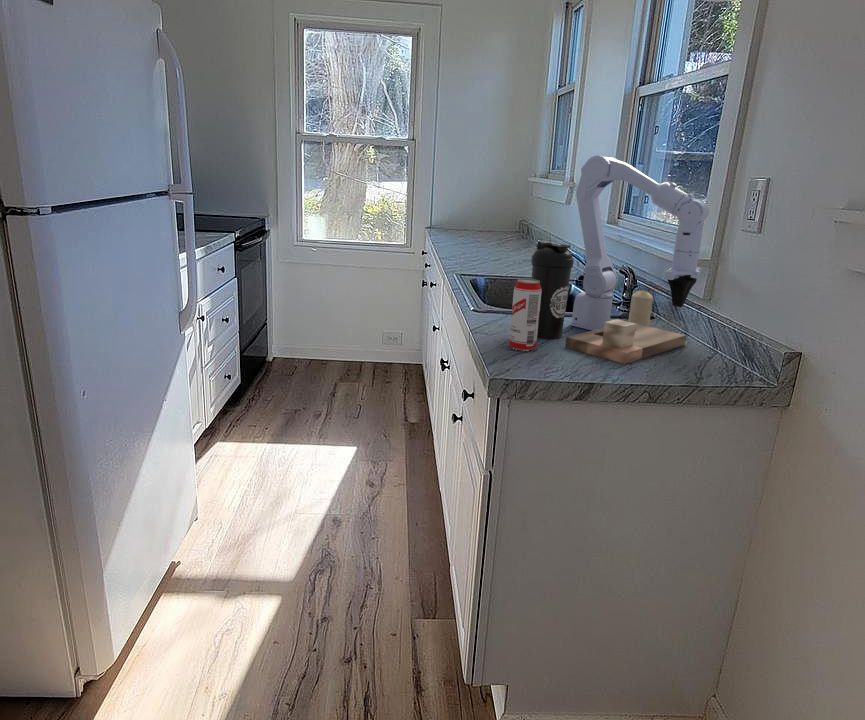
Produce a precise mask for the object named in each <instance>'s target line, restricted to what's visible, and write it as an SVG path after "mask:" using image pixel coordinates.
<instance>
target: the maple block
mask: <svg viewBox="0 0 865 720" xmlns="http://www.w3.org/2000/svg"><path fill="white" fill-rule="evenodd" d="M635 328H636V324H635V323H631V322H628V321H626V320H621V319H618V318H617V319H613V320H610V321H607V322H605V326H604V333H603V341H602V343H604V344H608V345H611V346H615V347H619V348H624V347H627V346H631V345H633V341H634V334H635Z"/></svg>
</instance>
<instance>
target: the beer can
mask: <svg viewBox="0 0 865 720" xmlns="http://www.w3.org/2000/svg"><path fill="white" fill-rule="evenodd" d="M516 281H517V282H516V283H515V284H514V288H513V296H512V307H511V318H510V327H509V328H510V329H509V330H510V331H509V337H508V338H509V341H508V344H509V346H510V348H511V349H512V348H514V349H517V350H525V351H526V350H532V349H533V350H535V348H536V347H537V341H538V338H537V332H538V322H539V312H540V302H541V292H542V289H541V286H540V281H539V280H535V279H532V278H518V279H517V280H516ZM514 349H513V350H514ZM517 350H516V351H517ZM533 350H532V351H533Z"/></svg>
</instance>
